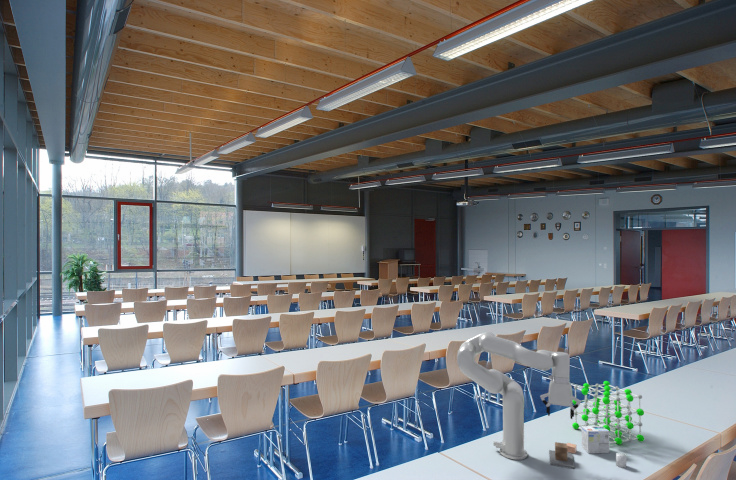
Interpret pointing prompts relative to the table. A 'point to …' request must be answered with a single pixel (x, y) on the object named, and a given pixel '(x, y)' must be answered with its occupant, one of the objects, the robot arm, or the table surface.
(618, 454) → the grey plastic cylinder
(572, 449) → the peach cube
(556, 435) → the table surface
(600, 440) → the light bulb box
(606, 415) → the molecular structure model
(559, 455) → the walnut block
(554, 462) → the mat
